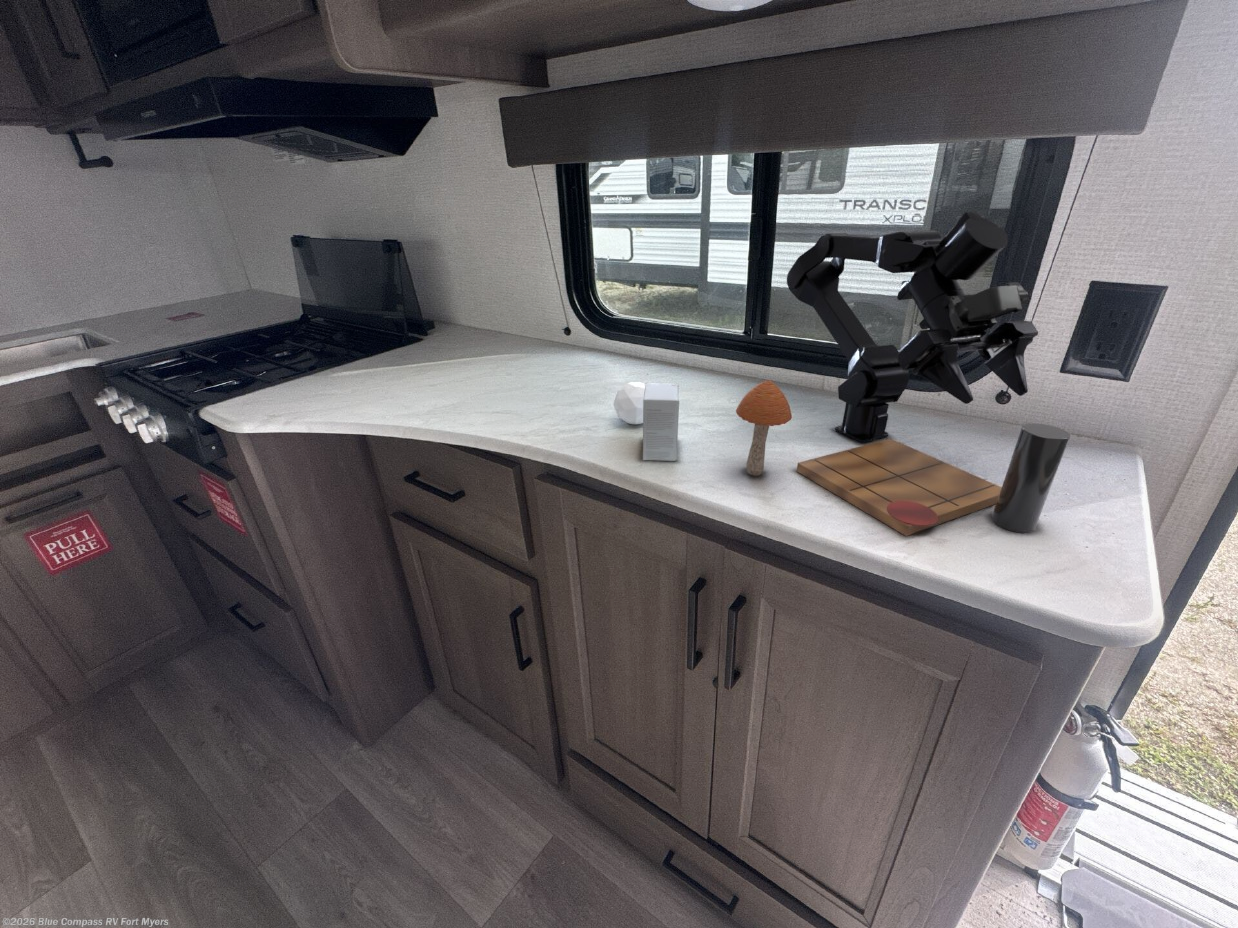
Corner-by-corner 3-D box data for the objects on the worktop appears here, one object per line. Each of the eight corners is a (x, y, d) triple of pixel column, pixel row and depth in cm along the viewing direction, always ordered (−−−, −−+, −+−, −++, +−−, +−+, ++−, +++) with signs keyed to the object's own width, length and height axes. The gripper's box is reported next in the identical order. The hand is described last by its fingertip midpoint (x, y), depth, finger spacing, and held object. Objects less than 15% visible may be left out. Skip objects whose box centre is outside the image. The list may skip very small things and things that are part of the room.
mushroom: (785, 488, 82) (799, 390, 75) (730, 484, 83) (739, 387, 77) (781, 464, 89) (793, 372, 82) (730, 460, 90) (738, 370, 84)
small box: (644, 440, 98) (645, 382, 93) (676, 441, 97) (679, 382, 93) (641, 460, 91) (642, 399, 86) (676, 461, 90) (679, 399, 86)
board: (796, 471, 87) (797, 461, 86) (888, 446, 95) (890, 437, 94) (912, 540, 70) (915, 529, 69) (1014, 503, 78) (1017, 493, 77)
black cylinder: (983, 518, 74) (1013, 427, 69) (1006, 509, 76) (1037, 420, 70) (1020, 536, 71) (1055, 442, 65) (1043, 527, 72) (1079, 434, 67)
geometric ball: (629, 431, 108) (627, 391, 110) (665, 424, 104) (663, 383, 105) (605, 424, 102) (604, 381, 103) (643, 416, 98) (641, 372, 99)
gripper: (928, 265, 70) (989, 370, 64) (1040, 258, 75) (1107, 355, 69) (874, 322, 80) (924, 418, 74) (977, 313, 85) (1031, 402, 79)
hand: (997, 398), depth 74 cm, fingers open, 9 cm apart
